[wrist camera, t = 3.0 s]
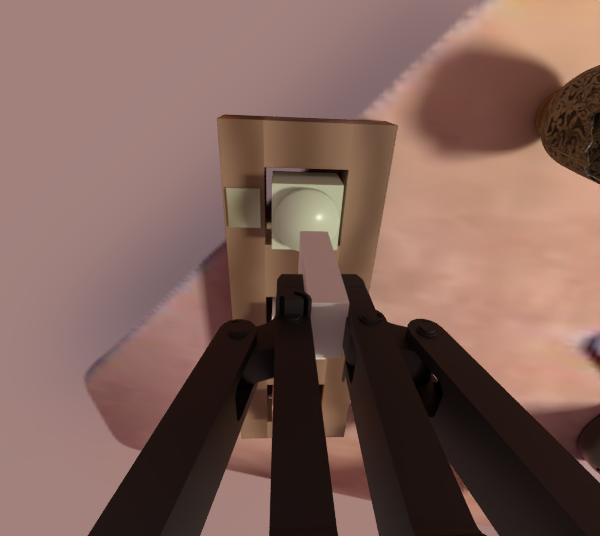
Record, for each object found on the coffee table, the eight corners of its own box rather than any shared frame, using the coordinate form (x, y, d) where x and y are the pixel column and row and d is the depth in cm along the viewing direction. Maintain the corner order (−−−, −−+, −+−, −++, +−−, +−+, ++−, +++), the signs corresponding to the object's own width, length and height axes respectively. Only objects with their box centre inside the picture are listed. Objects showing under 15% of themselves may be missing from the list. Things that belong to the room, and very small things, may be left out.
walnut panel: (385, 121, 24) (398, 125, 22) (339, 414, 41) (343, 438, 38) (224, 114, 24) (216, 118, 21) (244, 415, 40) (241, 440, 38)
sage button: (336, 172, 25) (346, 188, 21) (330, 231, 27) (338, 255, 23) (273, 171, 24) (271, 186, 21) (273, 230, 27) (271, 254, 23)
